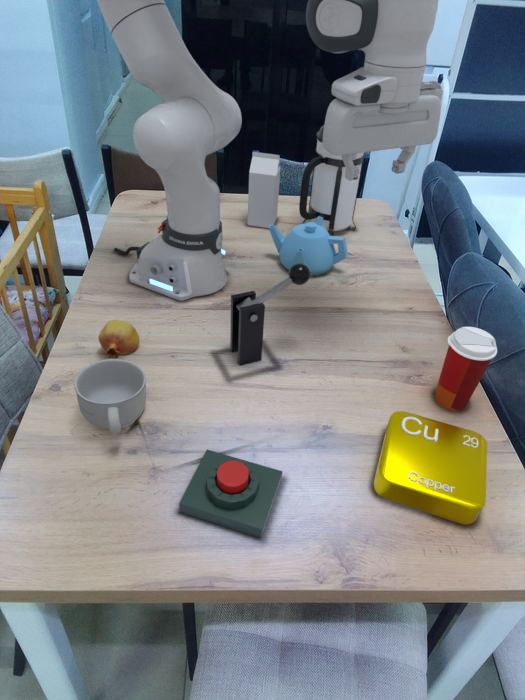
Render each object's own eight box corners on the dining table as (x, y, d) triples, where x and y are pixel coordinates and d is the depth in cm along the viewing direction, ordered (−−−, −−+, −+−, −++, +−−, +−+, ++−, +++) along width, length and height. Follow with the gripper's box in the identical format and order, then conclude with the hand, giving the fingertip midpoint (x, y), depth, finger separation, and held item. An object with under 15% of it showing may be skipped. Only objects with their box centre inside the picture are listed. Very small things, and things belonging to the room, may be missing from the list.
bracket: (261, 342, 101) (264, 283, 92) (277, 367, 95) (283, 307, 86) (213, 353, 97) (212, 293, 89) (228, 380, 92) (228, 318, 83)
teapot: (292, 285, 118) (297, 244, 111) (265, 255, 128) (267, 215, 121) (347, 273, 123) (355, 233, 116) (317, 245, 133) (322, 207, 126)
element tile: (370, 495, 74) (376, 475, 71) (387, 424, 85) (393, 404, 82) (475, 530, 71) (487, 510, 68) (479, 451, 82) (489, 432, 79)
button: (212, 488, 70) (212, 481, 69) (223, 464, 73) (223, 456, 72) (242, 498, 69) (242, 490, 68) (252, 472, 72) (252, 465, 71)
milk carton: (272, 229, 139) (277, 159, 127) (247, 225, 140) (249, 156, 128) (276, 218, 145) (281, 151, 133) (252, 215, 146) (255, 147, 133)
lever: (307, 270, 91) (300, 255, 89) (317, 281, 89) (310, 266, 86) (241, 314, 91) (232, 300, 89) (249, 326, 89) (240, 312, 86)
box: (179, 512, 71) (178, 495, 68) (207, 458, 78) (206, 441, 76) (261, 538, 68) (262, 522, 66) (281, 480, 76) (283, 463, 73)
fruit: (103, 309, 97) (85, 341, 89) (136, 305, 96) (121, 336, 88) (116, 338, 101) (100, 370, 93) (148, 334, 100) (135, 366, 92)
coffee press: (300, 213, 148) (312, 102, 129) (355, 218, 147) (375, 108, 128) (295, 240, 135) (307, 122, 116) (355, 247, 134) (377, 128, 115)
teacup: (89, 391, 88) (81, 357, 83) (152, 390, 89) (148, 355, 84) (73, 456, 77) (62, 420, 72) (145, 453, 78) (139, 418, 73)
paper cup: (472, 391, 93) (499, 331, 84) (472, 420, 87) (500, 359, 78) (429, 380, 95) (451, 320, 86) (426, 408, 89) (448, 346, 80)
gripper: (431, 76, 82) (412, 162, 90) (322, 83, 74) (313, 176, 83) (458, 84, 77) (435, 174, 86) (345, 93, 70) (333, 190, 79)
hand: (374, 175), depth 84 cm, fingers open, 8 cm apart
